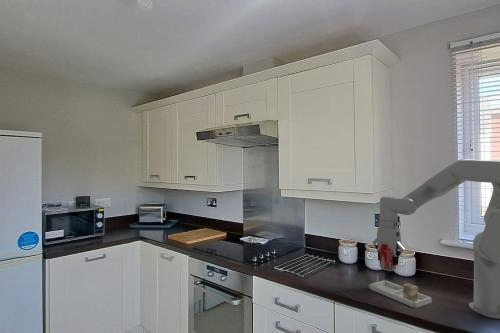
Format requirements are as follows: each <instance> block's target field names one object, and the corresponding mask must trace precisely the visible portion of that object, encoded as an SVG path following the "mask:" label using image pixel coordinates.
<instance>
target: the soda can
mask: <svg viewBox="0 0 500 333" xmlns="http://www.w3.org/2000/svg"><path fill="white" fill-rule="evenodd" d="M393 256H394V254H393V251H392V250H391V248H390V247H389V246H388V244H384V243H382V244H381V245H380V261H379V267H380V269H382V270H384V271H388V272H393V271H395V270H396V269H397V265H393Z"/></svg>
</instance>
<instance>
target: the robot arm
mask: <svg viewBox="0 0 500 333" xmlns="http://www.w3.org/2000/svg"><path fill="white" fill-rule="evenodd" d="M464 182H474V183H475V182H476V183H491V184H492V192H491V193H492V194H491V196H490V197H491V198H490V200H489V203H488V205H487V208H486V210H485V213H484V215H483V221H484V223H485V226H484V229H483V231H481V232H479V233H477V234H476V235H475V236H474V238H473V240H472V241H473V243H472V247H473V249H472V250H473V301H472V302H469V303H468V306H469V308H470V309H471V310H472V311H473V312H476V313H477V314H478V315H481V316H484V317H486V318H492V319H500V160H488V159H487V160H486V159H485V160H483V159H482V160H481V159H468V158H467V159H466V158H465V159H459V160H456V161H454V162H452V163H451V164H449V165H448V166H446V167H445V168H443V169H442V170H440V171H439V172H438V173H436V174H435V175H433V176H432V177H430V178H428V179H427V180H425V182H424V183H422V184H421V185H419V186H418V187H417V188H416V189H414V190H412V191H411V192H410V193H408V194H406V195H405V196H404V197H402V198H396V197H394V196H382V197H380V199H379V225H378V227H377V232H376V239H374V240H373V241H372V244H373V245H374V248H375V250H376V252H377V260H378V261H379V262H380V245H381V244H382V243H384V244H388V246H389V247H390V248H391V250H392V251H393V254H394V256H393V265H396V266H398V265H399V262H400V259H399V258H400V256H401V255H402V254H403V253H404V252H405V251H406V248H405V247H404V246H403V245H402V235H401V229H400V226H401V224H400V222H399V220H398V219H399V216H398V215H403V216H411V215H413V214H415V213H416V211H417V210H418V209H419V208H421V207H422V206H424V205H425V204H426V203H429V202H430V201H432V200H434V199H437V198H440V197H442V196H444V195H446V194H447V193H448V192H450V191H452V190H454V189H455V188H457V187H458V186H459V185H461V184H463V183H464Z"/></svg>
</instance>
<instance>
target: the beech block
mask: <svg viewBox="0 0 500 333" xmlns="http://www.w3.org/2000/svg"><path fill="white" fill-rule="evenodd" d="M402 287H403V298H406V299H408V300H410V301H413V302H415V301H418V293H419V287H418V285H415V284H412V283H404V284H402Z"/></svg>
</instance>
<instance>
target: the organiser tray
mask: <svg viewBox="0 0 500 333" xmlns="http://www.w3.org/2000/svg"><path fill="white" fill-rule="evenodd" d="M368 289H369V290H372V291H373V292H376V293H379V294H381V295H383V296H386V297H388V298H391V299H393V300H395V301H397V302H399V303H402V304H404V305H407V306H410V307H411V308H414V309H416V308H420V307H423V306H425V305H428V304H431V303H433V302H432V301H433V298H432V297H431V296H429V295H425V294H422V293H420V292H418V301H415V302H413V301H410V300H408V299H406V298H403V285H402V286H401V285H399V284H396V283H394V282H392V281H388V280H387V279H385V280H381V281H376V282H372V283H369V284H368Z"/></svg>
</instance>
